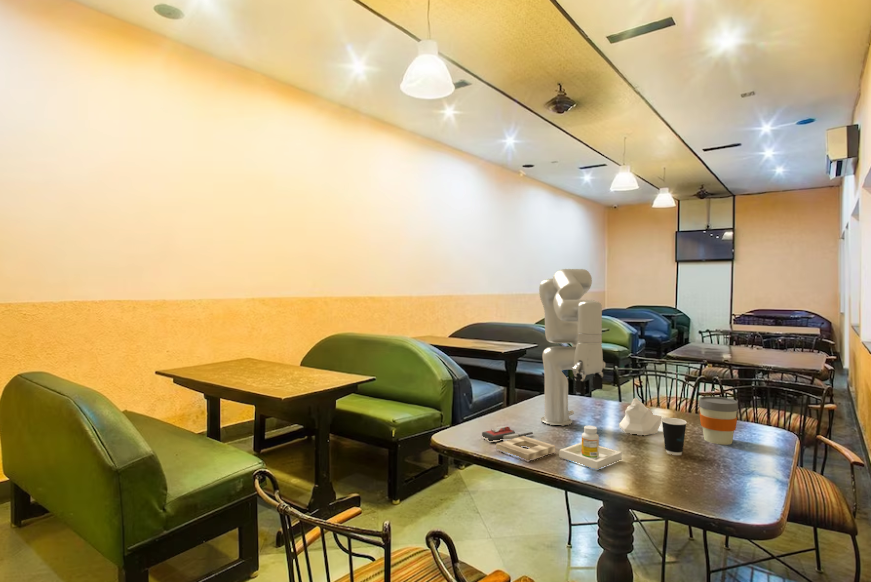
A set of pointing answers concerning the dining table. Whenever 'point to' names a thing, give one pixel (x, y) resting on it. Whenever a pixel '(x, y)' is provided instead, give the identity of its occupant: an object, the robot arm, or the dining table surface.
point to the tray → (604, 458)
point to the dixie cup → (674, 435)
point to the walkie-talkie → (502, 433)
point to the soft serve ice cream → (640, 419)
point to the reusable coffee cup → (718, 419)
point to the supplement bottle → (590, 442)
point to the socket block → (515, 448)
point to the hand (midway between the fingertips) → (589, 390)
